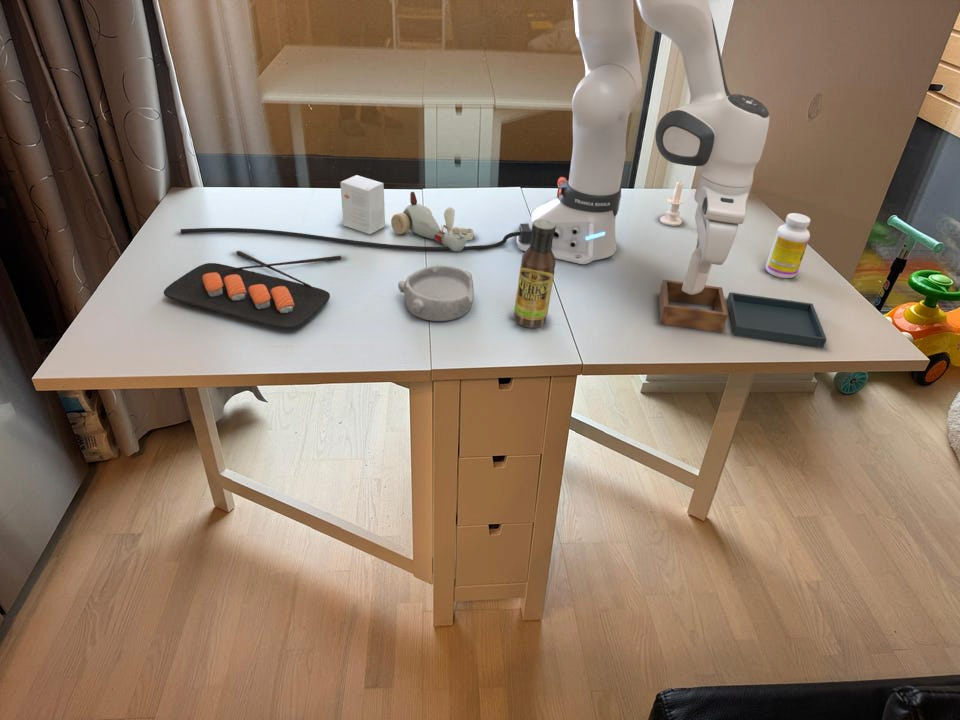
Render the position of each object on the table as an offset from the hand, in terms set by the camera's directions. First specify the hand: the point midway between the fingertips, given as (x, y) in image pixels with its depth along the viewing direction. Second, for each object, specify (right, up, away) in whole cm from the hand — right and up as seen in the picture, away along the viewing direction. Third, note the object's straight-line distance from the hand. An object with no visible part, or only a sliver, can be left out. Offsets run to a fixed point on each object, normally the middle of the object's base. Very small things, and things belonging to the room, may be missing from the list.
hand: (700, 263), depth 134 cm
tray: (+15, -11, +5) cm, 20 cm away
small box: (-68, +12, +29) cm, 75 cm away
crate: (0, -9, +6) cm, 11 cm away
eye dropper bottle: (-1, -5, +3) cm, 6 cm away
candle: (+5, +16, +42) cm, 45 cm away
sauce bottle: (-32, -11, 0) cm, 34 cm away
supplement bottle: (+24, +1, +23) cm, 34 cm away
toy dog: (-52, +9, +27) cm, 59 cm away
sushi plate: (-82, -3, +6) cm, 82 cm away
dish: (-49, -8, +3) cm, 50 cm away
